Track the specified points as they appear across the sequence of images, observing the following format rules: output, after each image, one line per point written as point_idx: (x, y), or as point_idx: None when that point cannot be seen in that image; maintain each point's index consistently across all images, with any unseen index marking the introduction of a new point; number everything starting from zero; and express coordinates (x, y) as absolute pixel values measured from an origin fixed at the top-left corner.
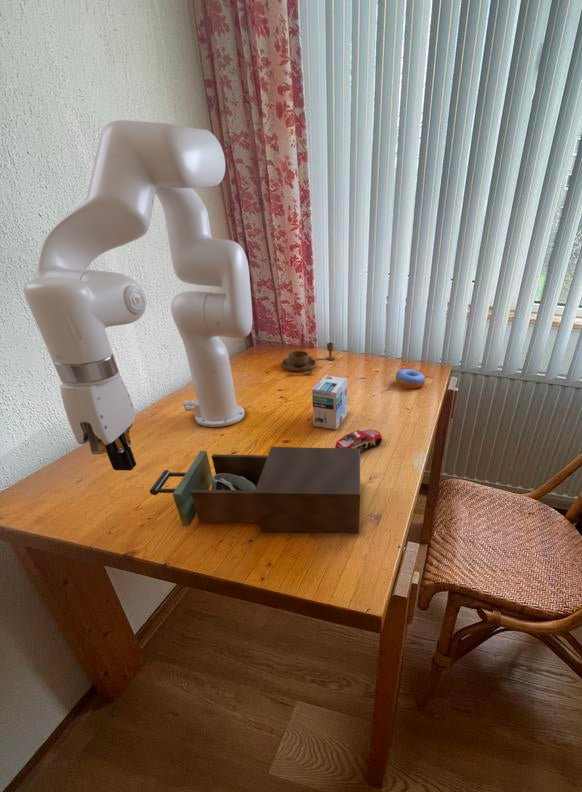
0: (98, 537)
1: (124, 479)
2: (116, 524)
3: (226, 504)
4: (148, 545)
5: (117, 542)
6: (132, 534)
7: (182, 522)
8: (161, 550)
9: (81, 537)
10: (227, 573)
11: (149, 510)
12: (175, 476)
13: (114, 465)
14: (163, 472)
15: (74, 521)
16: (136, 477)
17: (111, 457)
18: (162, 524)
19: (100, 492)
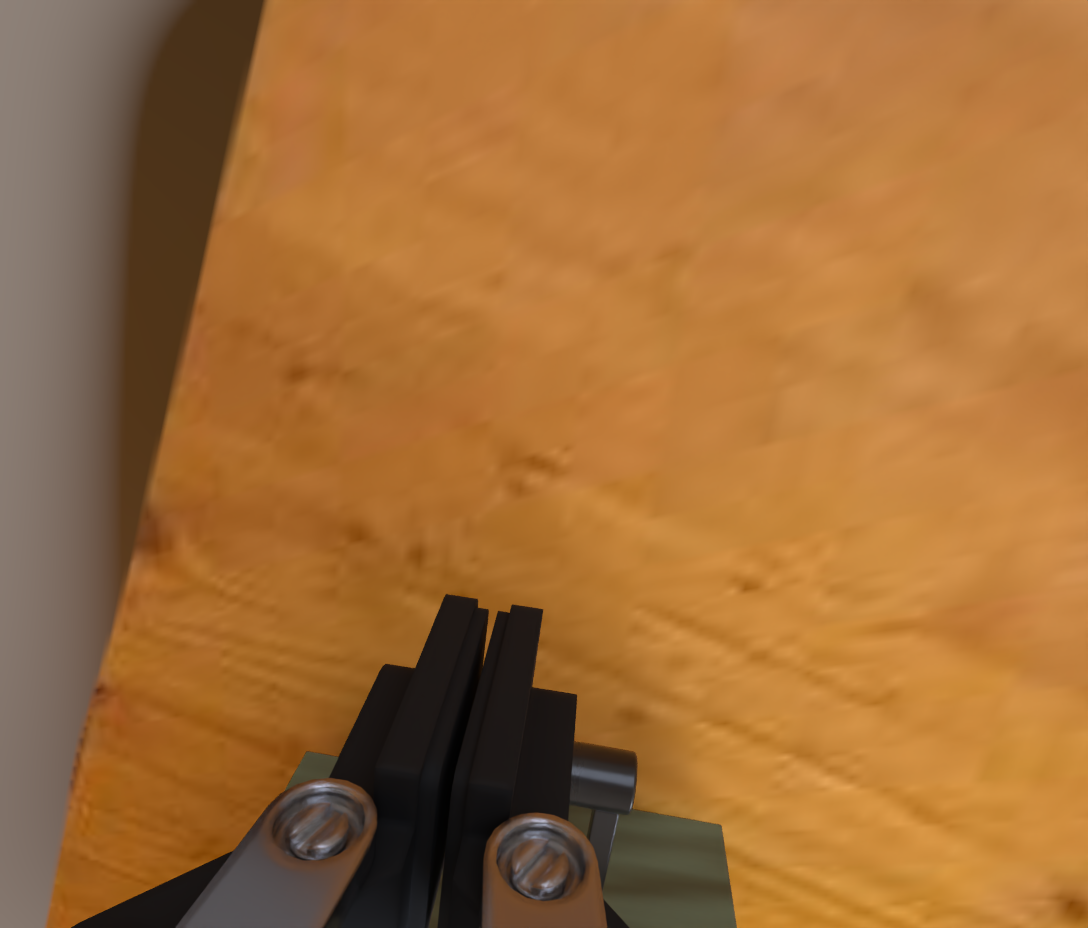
0: (257, 321)
1: (921, 265)
2: (372, 386)
3: None
4: (207, 597)
5: (221, 442)
6: (285, 500)
7: (294, 775)
8: (177, 658)
9: (255, 215)
10: (76, 893)
11: (494, 537)
12: (589, 823)
13: (376, 684)
14: (598, 792)
15: (413, 86)
16: (926, 352)
17: (337, 768)
18: (365, 628)
19: (763, 132)
